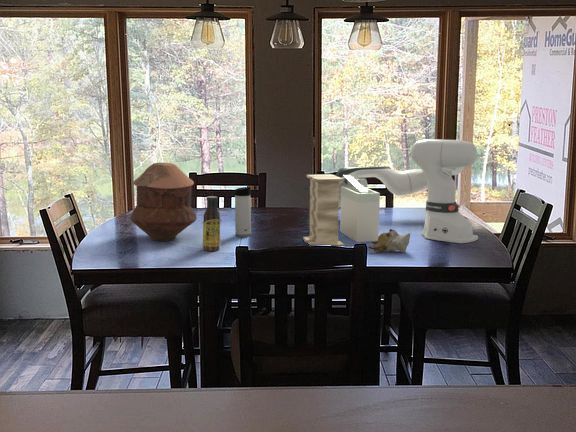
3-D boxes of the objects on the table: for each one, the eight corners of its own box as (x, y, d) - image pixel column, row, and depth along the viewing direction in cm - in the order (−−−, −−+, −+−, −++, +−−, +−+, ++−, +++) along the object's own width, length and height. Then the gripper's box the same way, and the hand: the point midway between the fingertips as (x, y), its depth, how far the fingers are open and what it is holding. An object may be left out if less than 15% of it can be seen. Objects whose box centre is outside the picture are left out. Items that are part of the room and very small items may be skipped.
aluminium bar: (342, 180, 274) (342, 175, 274) (349, 180, 275) (349, 175, 274) (360, 197, 254) (360, 191, 254) (367, 196, 255) (368, 191, 254)
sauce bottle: (205, 252, 236) (204, 198, 232) (200, 248, 242) (199, 196, 238) (222, 250, 239) (222, 197, 235) (217, 247, 244) (216, 194, 240)
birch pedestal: (302, 239, 256) (303, 174, 251) (331, 238, 259) (332, 173, 254) (314, 249, 241) (315, 180, 236) (345, 247, 244) (346, 179, 239)
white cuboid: (340, 231, 272) (341, 186, 268) (360, 230, 274) (361, 185, 271) (356, 242, 253) (358, 193, 249) (378, 240, 255) (379, 193, 252)
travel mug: (249, 237, 260) (249, 188, 256) (233, 236, 261) (232, 187, 257) (253, 234, 266) (253, 185, 262) (237, 233, 267) (237, 185, 263)
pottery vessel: (126, 234, 265) (123, 160, 260) (188, 229, 275) (186, 158, 269) (137, 248, 242) (133, 168, 236) (203, 242, 251) (202, 165, 245)
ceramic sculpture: (408, 231, 230) (366, 232, 234) (409, 255, 232) (367, 255, 236) (411, 226, 241) (370, 226, 244) (411, 249, 242) (371, 249, 246)
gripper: (362, 196, 285) (373, 184, 273) (318, 198, 280) (326, 186, 268) (360, 183, 287) (370, 171, 275) (316, 184, 282) (324, 172, 270)
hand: (348, 178), depth 271 cm, fingers closed on aluminium bar, 3 cm apart
